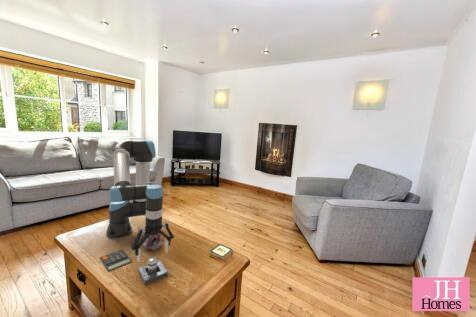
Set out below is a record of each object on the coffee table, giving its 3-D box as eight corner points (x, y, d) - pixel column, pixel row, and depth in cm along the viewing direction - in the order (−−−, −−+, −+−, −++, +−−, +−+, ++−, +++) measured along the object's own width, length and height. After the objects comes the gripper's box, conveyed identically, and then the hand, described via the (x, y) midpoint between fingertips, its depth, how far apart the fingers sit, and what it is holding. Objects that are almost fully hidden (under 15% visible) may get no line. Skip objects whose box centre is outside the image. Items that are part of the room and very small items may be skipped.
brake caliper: (155, 250, 120) (146, 232, 121) (144, 257, 124) (135, 239, 125) (168, 241, 130) (160, 224, 131) (157, 247, 134) (149, 231, 135)
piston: (146, 272, 105) (146, 258, 104) (155, 269, 108) (155, 255, 107) (148, 278, 102) (149, 263, 100) (158, 274, 105) (158, 260, 103)
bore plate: (138, 271, 106) (138, 267, 105) (160, 263, 113) (160, 260, 112) (144, 284, 97) (144, 280, 97) (167, 275, 104) (167, 271, 104)
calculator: (122, 248, 122) (132, 260, 112) (122, 250, 122) (132, 262, 113) (99, 256, 113) (108, 270, 104) (99, 258, 114) (108, 272, 104)
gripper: (127, 226, 90) (127, 269, 93) (181, 214, 106) (179, 251, 109) (123, 219, 95) (123, 260, 99) (175, 208, 111) (173, 244, 115)
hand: (153, 255), depth 104 cm, fingers open, 13 cm apart
